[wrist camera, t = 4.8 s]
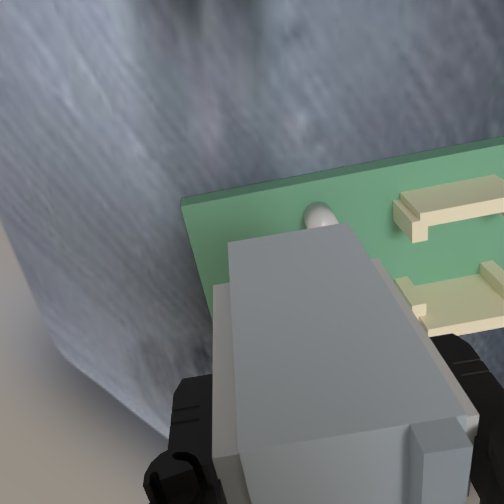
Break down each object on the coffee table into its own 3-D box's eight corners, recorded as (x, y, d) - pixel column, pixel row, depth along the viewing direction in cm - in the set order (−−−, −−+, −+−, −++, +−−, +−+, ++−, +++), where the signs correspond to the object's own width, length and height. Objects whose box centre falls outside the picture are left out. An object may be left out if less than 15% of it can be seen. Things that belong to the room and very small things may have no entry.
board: (181, 198, 31) (174, 241, 26) (525, 131, 31) (595, 161, 25) (220, 340, 38) (221, 400, 32) (506, 287, 37) (558, 338, 32)
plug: (227, 242, 15) (240, 484, 7) (348, 222, 15) (485, 444, 7) (250, 357, 17) (278, 628, 10) (354, 339, 17) (462, 598, 10)
